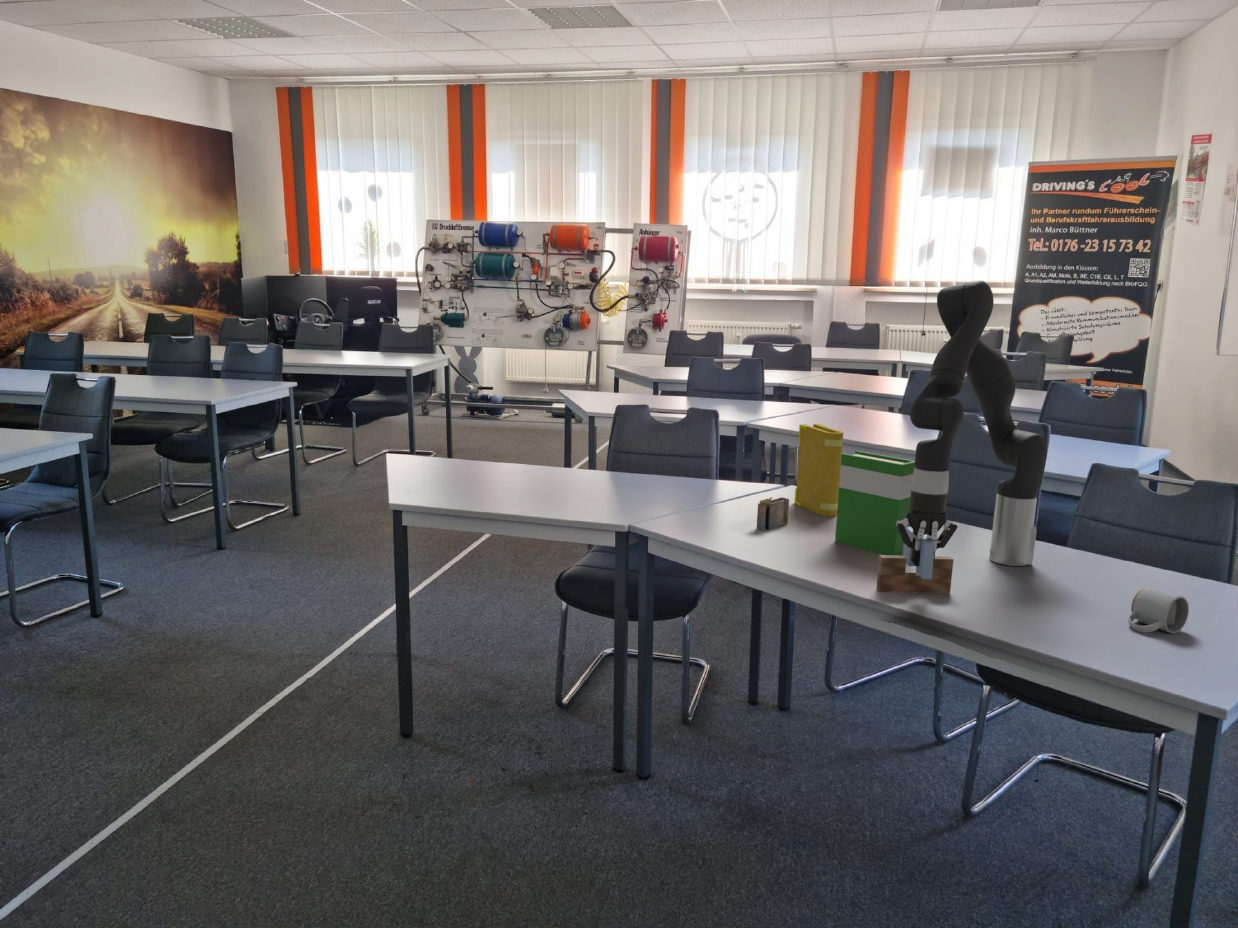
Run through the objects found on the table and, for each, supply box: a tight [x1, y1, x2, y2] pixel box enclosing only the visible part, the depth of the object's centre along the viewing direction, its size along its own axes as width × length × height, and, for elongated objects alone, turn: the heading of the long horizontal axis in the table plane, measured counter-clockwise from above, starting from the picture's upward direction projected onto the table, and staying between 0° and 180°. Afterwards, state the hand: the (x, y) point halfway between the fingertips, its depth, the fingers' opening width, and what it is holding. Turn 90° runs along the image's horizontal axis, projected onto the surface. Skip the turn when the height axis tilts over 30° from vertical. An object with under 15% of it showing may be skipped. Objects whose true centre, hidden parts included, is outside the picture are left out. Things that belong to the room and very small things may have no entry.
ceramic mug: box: [1128, 588, 1190, 634], centre depth 180 cm, size 11×8×8 cm
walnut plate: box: [876, 554, 954, 594], centre depth 198 cm, size 16×2×8 cm, turn 90°
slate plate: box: [902, 527, 935, 579], centre depth 197 cm, size 14×2×8 cm, turn 0°
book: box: [794, 423, 844, 517], centre depth 267 cm, size 17×7×25 cm, turn 17°
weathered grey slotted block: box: [756, 496, 790, 531], centre depth 249 cm, size 11×3×10 cm, turn 135°
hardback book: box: [834, 450, 915, 556], centre depth 230 cm, size 18×7×24 cm, turn 43°
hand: (922, 565), depth 194 cm, fingers closed on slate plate, 2 cm apart
